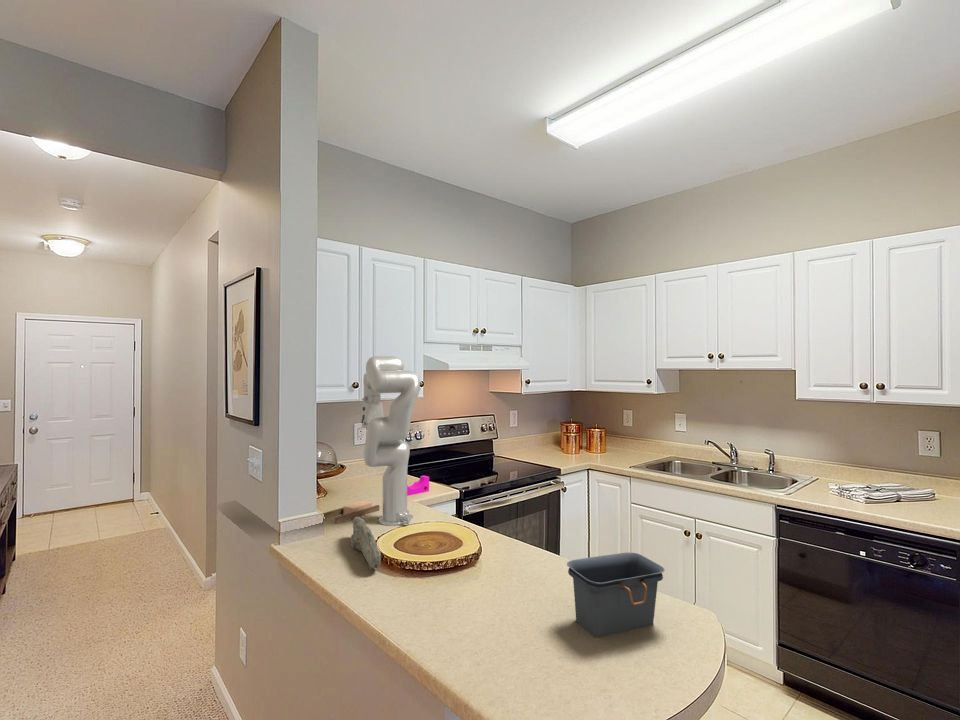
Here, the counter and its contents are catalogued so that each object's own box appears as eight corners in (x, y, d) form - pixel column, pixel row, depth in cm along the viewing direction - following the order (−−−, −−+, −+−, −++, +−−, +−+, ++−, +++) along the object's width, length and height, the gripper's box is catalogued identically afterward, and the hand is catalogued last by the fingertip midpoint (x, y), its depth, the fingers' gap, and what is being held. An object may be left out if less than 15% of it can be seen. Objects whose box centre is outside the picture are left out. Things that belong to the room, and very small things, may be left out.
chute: (379, 511, 208) (379, 505, 208) (336, 524, 191) (336, 518, 191) (364, 507, 214) (364, 501, 214) (321, 519, 197) (321, 513, 197)
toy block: (421, 489, 243) (421, 474, 243) (429, 492, 239) (429, 476, 239) (395, 495, 233) (395, 479, 233) (402, 498, 229) (402, 481, 229)
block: (371, 512, 208) (371, 502, 208) (354, 518, 199) (354, 508, 199) (361, 509, 211) (360, 500, 211) (343, 516, 202) (343, 506, 202)
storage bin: (633, 604, 128) (633, 549, 128) (677, 635, 114) (677, 572, 114) (561, 620, 120) (561, 561, 120) (599, 655, 106) (599, 588, 106)
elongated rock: (387, 576, 145) (387, 542, 145) (369, 579, 143) (369, 545, 143) (360, 538, 177) (360, 510, 177) (345, 540, 174) (345, 512, 174)
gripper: (364, 401, 218) (364, 442, 218) (390, 398, 230) (390, 438, 230) (353, 400, 223) (353, 441, 223) (379, 398, 235) (379, 437, 235)
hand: (372, 439), depth 227 cm, fingers closed
